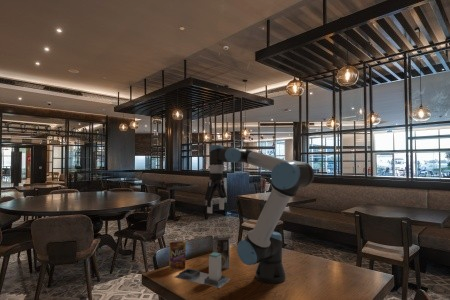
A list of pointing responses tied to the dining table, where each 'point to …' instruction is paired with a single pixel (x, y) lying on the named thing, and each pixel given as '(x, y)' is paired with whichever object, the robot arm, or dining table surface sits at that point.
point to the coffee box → (222, 250)
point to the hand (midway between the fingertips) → (215, 211)
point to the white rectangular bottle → (215, 266)
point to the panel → (201, 278)
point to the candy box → (177, 254)
